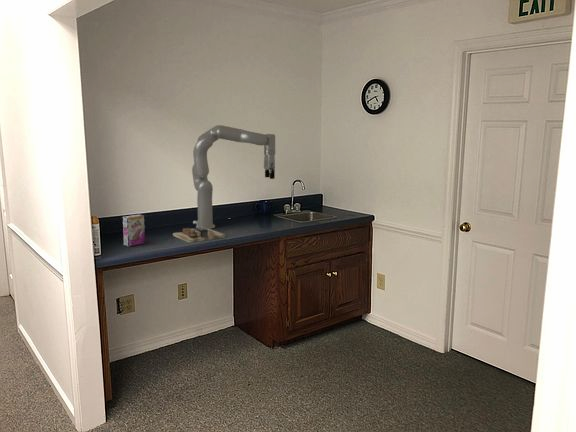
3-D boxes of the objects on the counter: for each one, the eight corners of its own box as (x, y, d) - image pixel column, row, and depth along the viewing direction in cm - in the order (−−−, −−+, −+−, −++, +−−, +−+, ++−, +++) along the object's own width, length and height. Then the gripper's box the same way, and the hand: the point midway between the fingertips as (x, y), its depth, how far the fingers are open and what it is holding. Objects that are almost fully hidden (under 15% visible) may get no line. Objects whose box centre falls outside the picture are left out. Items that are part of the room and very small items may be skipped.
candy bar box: (128, 247, 272) (127, 217, 269) (123, 245, 275) (121, 216, 272) (146, 243, 280) (144, 215, 277) (140, 242, 283) (139, 214, 280)
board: (189, 242, 282) (189, 240, 282) (172, 235, 300) (172, 233, 300) (226, 237, 297) (226, 234, 296) (208, 230, 314) (208, 228, 314)
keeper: (202, 238, 287) (202, 230, 286) (195, 235, 294) (195, 227, 293) (207, 237, 289) (207, 229, 289) (201, 234, 296) (200, 227, 295)
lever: (198, 237, 288) (197, 229, 287) (190, 238, 286) (190, 230, 285) (189, 231, 303) (189, 223, 303) (182, 232, 301) (182, 224, 301)
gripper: (260, 152, 337) (260, 177, 341) (268, 153, 322) (268, 179, 325) (270, 151, 340) (270, 176, 343) (279, 153, 324) (279, 179, 328)
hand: (269, 178), depth 334 cm, fingers open, 9 cm apart
